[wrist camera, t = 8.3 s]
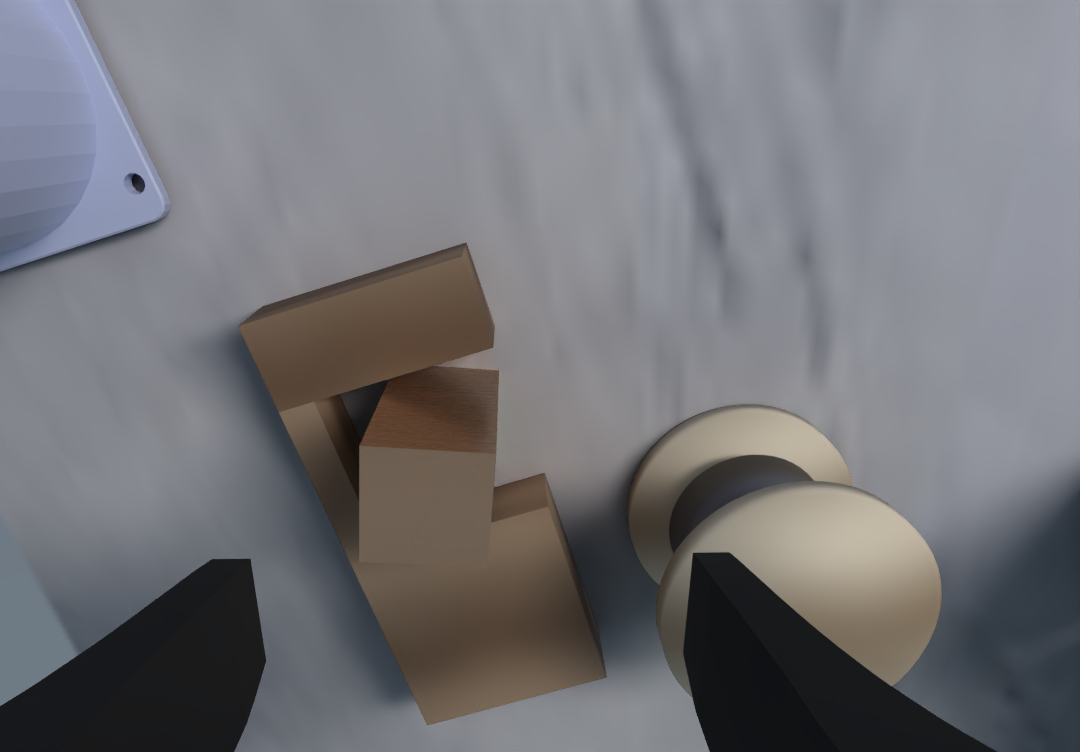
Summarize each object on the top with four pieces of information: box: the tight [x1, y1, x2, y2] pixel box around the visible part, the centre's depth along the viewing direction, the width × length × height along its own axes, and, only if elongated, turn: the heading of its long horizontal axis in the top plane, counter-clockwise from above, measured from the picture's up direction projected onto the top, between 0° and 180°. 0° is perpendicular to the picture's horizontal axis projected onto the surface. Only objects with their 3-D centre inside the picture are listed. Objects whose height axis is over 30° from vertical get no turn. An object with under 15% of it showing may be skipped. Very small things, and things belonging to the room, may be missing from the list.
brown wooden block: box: [359, 366, 499, 568], centre depth 19 cm, size 3×3×6 cm
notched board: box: [238, 243, 606, 725], centre depth 21 cm, size 14×6×2 cm, turn 17°
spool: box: [627, 404, 942, 698], centre depth 20 cm, size 7×7×6 cm
